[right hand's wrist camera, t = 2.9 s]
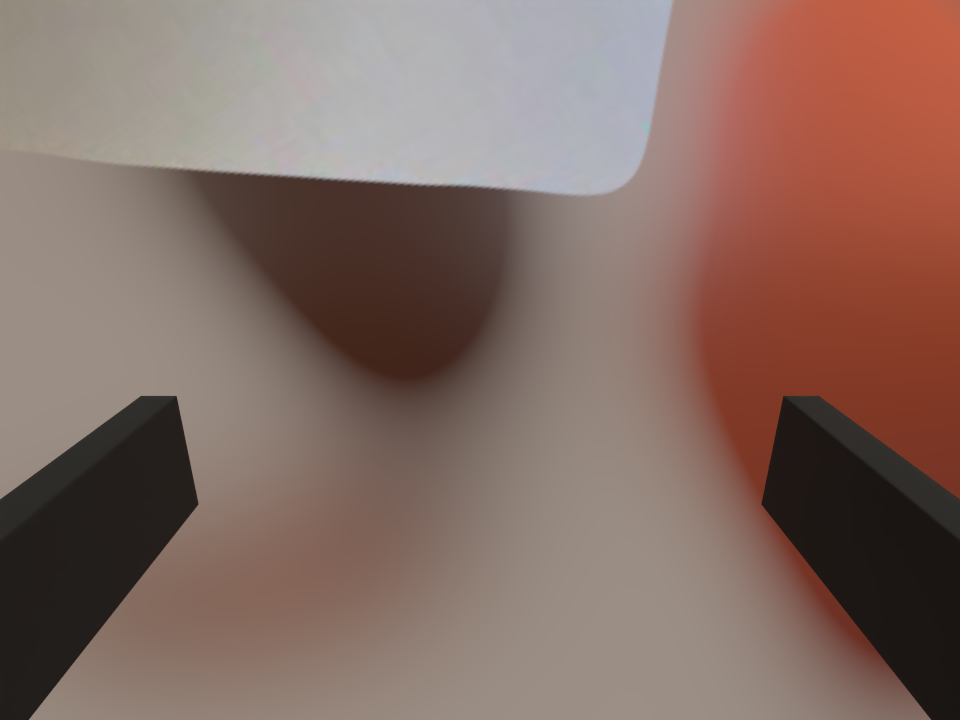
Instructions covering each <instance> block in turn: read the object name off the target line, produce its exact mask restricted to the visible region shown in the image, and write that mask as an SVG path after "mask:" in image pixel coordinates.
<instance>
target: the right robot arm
mask: <svg viewBox="0 0 960 720" xmlns="http://www.w3.org/2000/svg"><path fill="white" fill-rule="evenodd" d="M197 505H198V499H197V494H196V490H195V485H194V480H193V475H192V470H191V465H190V460H189V455H188V450H187V445H186V440H185V436H184V430H183V426H182V421H181V416H180V411H179V406H178V401H177V397H176V396H141V397H139V398H138V399H136V400H135V401H134V402H132V403H131V404H130V405H128V406H127V407H126V408H124V409H123V410H121V411H120V412H119V413H117V414H116V415H115V416H113V417H112V418H111V419H109V420H108V421H107V422H105V423H104V424H102V425H101V426H100V427H98V428H97V429H96V430H94V431H93V432H92V433H90V434H89V435H87V436H86V437H85V438H83V439H82V440H81V441H79V442H78V443H77V444H75V445H74V446H72V447H71V448H70V449H68V450H67V451H66V452H64V453H63V454H62V455H60V456H59V457H57V458H56V459H55V460H53V461H52V462H51V463H49V464H48V465H47V466H45V467H44V468H43V469H41V470H40V471H38V472H37V473H36V474H34V475H33V476H32V477H30V478H29V479H28V480H26V481H25V482H23V483H22V484H21V485H19V486H18V487H17V488H15V489H14V490H13V491H11V492H10V493H9V494H7V495H6V496H4V497H3V498H2V499H0V720H29V719H30V717H31V716H32V715H33V714H34V712H35V711H36V710H37V708H38V707H39V706H40V705H41V703H42V702H43V701H44V700H45V698H46V697H47V696H48V695H49V693H50V692H51V691H52V689H53V688H54V687H55V686H56V684H57V683H58V682H59V681H60V679H61V678H62V677H63V676H64V674H65V673H66V672H67V670H68V669H69V668H70V667H71V665H72V664H73V663H74V662H75V660H76V659H77V658H78V657H79V655H80V654H81V653H82V651H83V650H84V649H85V648H86V646H87V645H88V644H89V643H90V641H91V640H92V639H93V637H94V636H95V635H96V634H97V632H98V631H99V630H100V629H101V627H102V626H103V625H104V623H105V622H106V621H107V620H108V618H109V617H110V616H111V615H112V613H113V612H114V611H115V610H116V608H117V607H118V606H119V604H120V603H121V602H122V601H123V599H124V598H125V597H126V595H127V594H128V593H129V592H130V591H131V589H132V588H133V587H134V585H135V584H136V583H137V582H138V580H139V579H140V578H141V577H142V575H143V574H144V573H145V571H146V570H147V569H148V568H149V566H150V565H151V564H152V563H153V561H154V560H155V559H156V557H157V556H158V555H159V554H160V552H161V551H162V550H163V549H164V547H165V546H166V545H167V544H168V542H169V541H170V540H171V538H172V537H173V536H174V535H175V533H176V532H177V531H178V530H179V528H180V527H181V526H182V525H183V523H184V522H185V521H186V519H187V518H188V517H189V516H190V514H191V513H192V512H193V511H194V509H195V508H196V507H197ZM762 505H763V507H764V508H765V509H766V511H767V512H768V513H769V514H770V516H771V517H772V518H773V519H774V521H775V522H776V523H777V525H778V526H779V527H780V528H781V530H782V531H783V532H784V533H785V535H786V536H787V537H788V539H789V540H790V541H791V542H792V544H793V545H794V546H795V547H796V549H797V550H798V551H799V552H800V554H801V555H802V556H803V558H804V559H805V560H806V561H807V563H808V564H809V565H810V566H811V568H812V569H813V570H814V571H815V573H816V574H817V575H818V577H819V578H820V579H821V580H822V582H823V583H824V584H825V585H826V587H827V588H828V589H829V591H830V592H831V593H832V594H833V596H834V597H835V598H836V599H837V601H838V602H839V603H840V604H841V606H842V607H843V608H844V610H845V611H846V612H847V613H848V615H849V616H850V617H851V618H852V620H853V621H854V622H855V624H856V625H857V626H858V627H859V629H860V630H861V631H862V632H863V634H864V635H865V636H866V637H867V639H868V640H869V641H870V643H871V644H872V645H873V646H874V648H875V649H876V650H877V651H878V653H879V654H880V655H881V657H882V658H883V659H884V660H885V662H886V663H887V664H888V665H889V667H890V668H891V669H892V670H893V672H894V673H895V674H896V676H897V677H898V678H899V679H900V680H901V682H902V683H903V684H904V686H905V687H906V688H907V689H908V691H909V692H910V693H911V695H912V696H913V697H914V698H915V700H916V701H917V702H918V703H919V705H920V706H921V707H922V709H923V710H924V711H925V712H926V714H927V715H928V716H929V717H930V719H931V720H960V499H958V498H957V497H956V496H954V495H953V494H951V493H950V492H949V491H947V490H946V489H945V488H943V487H942V486H941V485H939V484H938V483H937V482H935V481H934V480H932V479H931V478H930V477H928V476H927V475H926V474H924V473H923V472H922V471H920V470H919V469H917V468H916V467H915V466H913V465H912V464H911V463H909V462H908V461H907V460H905V459H904V458H903V457H901V456H900V455H898V454H897V453H896V452H894V451H893V450H892V449H890V448H889V447H888V446H886V445H885V444H883V443H882V442H881V441H879V440H878V439H877V438H875V437H874V436H873V435H871V434H870V433H868V432H867V431H866V430H864V429H863V428H862V427H860V426H859V425H858V424H856V423H855V422H853V421H852V420H851V419H849V418H848V417H847V416H845V415H844V414H843V413H841V412H840V411H839V410H837V409H836V408H834V407H833V406H832V405H830V404H829V403H828V402H826V401H825V400H824V399H822V398H821V397H819V396H784V397H783V401H782V406H781V411H780V416H779V421H778V426H777V430H776V436H775V440H774V445H773V450H772V455H771V460H770V465H769V470H768V475H767V480H766V485H765V490H764V494H763V499H762Z"/></svg>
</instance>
